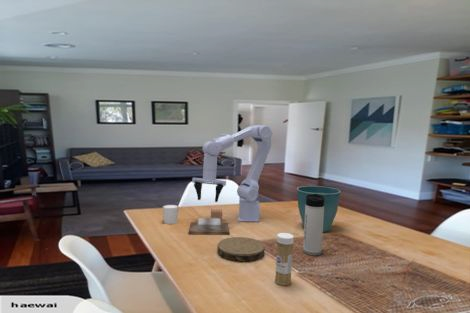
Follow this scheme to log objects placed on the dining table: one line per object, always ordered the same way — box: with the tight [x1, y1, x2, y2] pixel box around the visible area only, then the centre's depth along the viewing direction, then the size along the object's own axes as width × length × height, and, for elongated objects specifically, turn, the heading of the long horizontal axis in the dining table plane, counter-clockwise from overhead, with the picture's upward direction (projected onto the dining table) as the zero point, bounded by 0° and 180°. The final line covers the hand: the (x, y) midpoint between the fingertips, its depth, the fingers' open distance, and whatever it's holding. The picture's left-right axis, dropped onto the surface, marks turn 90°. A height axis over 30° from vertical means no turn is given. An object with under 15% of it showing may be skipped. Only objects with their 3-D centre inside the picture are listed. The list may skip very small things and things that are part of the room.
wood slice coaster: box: [216, 236, 265, 263], centre depth 110 cm, size 16×16×3 cm
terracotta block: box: [210, 208, 223, 223], centre depth 145 cm, size 5×5×5 cm
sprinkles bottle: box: [274, 232, 295, 286], centre depth 90 cm, size 5×5×14 cm
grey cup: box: [162, 204, 179, 225], centre depth 142 cm, size 7×7×7 cm
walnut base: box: [188, 217, 230, 236], centre depth 133 cm, size 16×12×4 cm
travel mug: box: [302, 194, 325, 256], centre depth 112 cm, size 6×7×20 cm
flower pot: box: [296, 185, 341, 233], centre depth 140 cm, size 18×18×17 cm
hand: (207, 200), depth 141 cm, fingers open, 7 cm apart
